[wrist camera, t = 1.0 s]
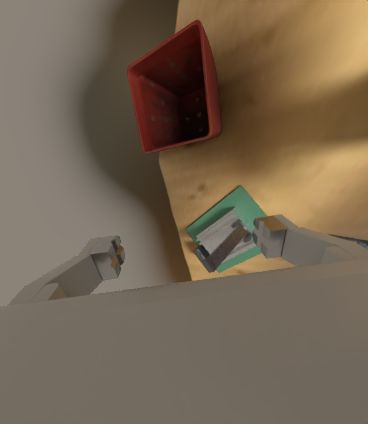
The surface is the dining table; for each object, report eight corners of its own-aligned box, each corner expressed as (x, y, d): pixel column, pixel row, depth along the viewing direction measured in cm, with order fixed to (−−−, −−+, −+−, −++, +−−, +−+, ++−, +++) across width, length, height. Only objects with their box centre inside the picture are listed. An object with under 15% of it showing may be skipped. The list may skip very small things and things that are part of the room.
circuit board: (241, 185, 49) (240, 185, 48) (287, 239, 47) (287, 240, 46) (186, 228, 64) (185, 229, 63) (219, 271, 62) (219, 272, 61)
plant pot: (167, 89, 51) (124, 67, 38) (228, 60, 41) (200, 15, 28) (177, 154, 56) (142, 154, 42) (234, 141, 46) (212, 137, 32)
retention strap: (236, 226, 48) (241, 223, 47) (243, 234, 48) (248, 232, 46) (201, 262, 39) (205, 260, 37) (209, 272, 38) (214, 271, 37)
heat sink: (235, 206, 50) (229, 213, 45) (261, 237, 49) (258, 248, 43) (194, 236, 61) (185, 244, 56) (215, 262, 60) (207, 273, 55)
